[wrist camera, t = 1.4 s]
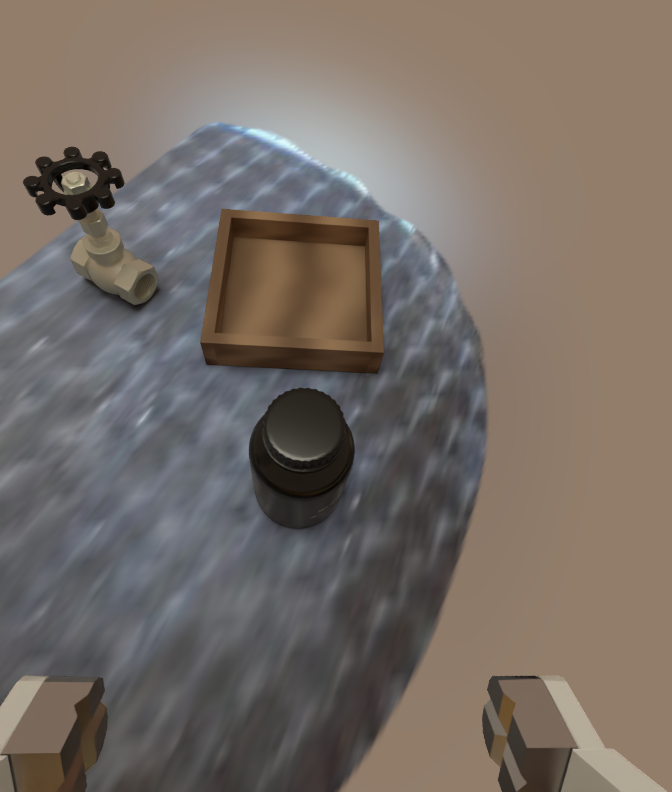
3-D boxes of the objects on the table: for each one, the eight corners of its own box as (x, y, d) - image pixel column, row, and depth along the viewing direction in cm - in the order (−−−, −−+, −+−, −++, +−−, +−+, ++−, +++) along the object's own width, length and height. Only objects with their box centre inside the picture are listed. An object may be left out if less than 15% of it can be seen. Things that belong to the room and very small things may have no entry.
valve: (118, 248, 48) (70, 134, 37) (173, 278, 47) (140, 169, 36) (69, 293, 45) (1, 183, 34) (126, 326, 44) (74, 223, 33)
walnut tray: (206, 364, 43) (200, 342, 40) (225, 236, 50) (221, 208, 47) (377, 373, 44) (383, 352, 41) (373, 246, 51) (378, 220, 48)
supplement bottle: (337, 534, 37) (357, 490, 27) (247, 523, 37) (231, 474, 26) (346, 450, 40) (367, 380, 30) (263, 439, 40) (254, 365, 30)
